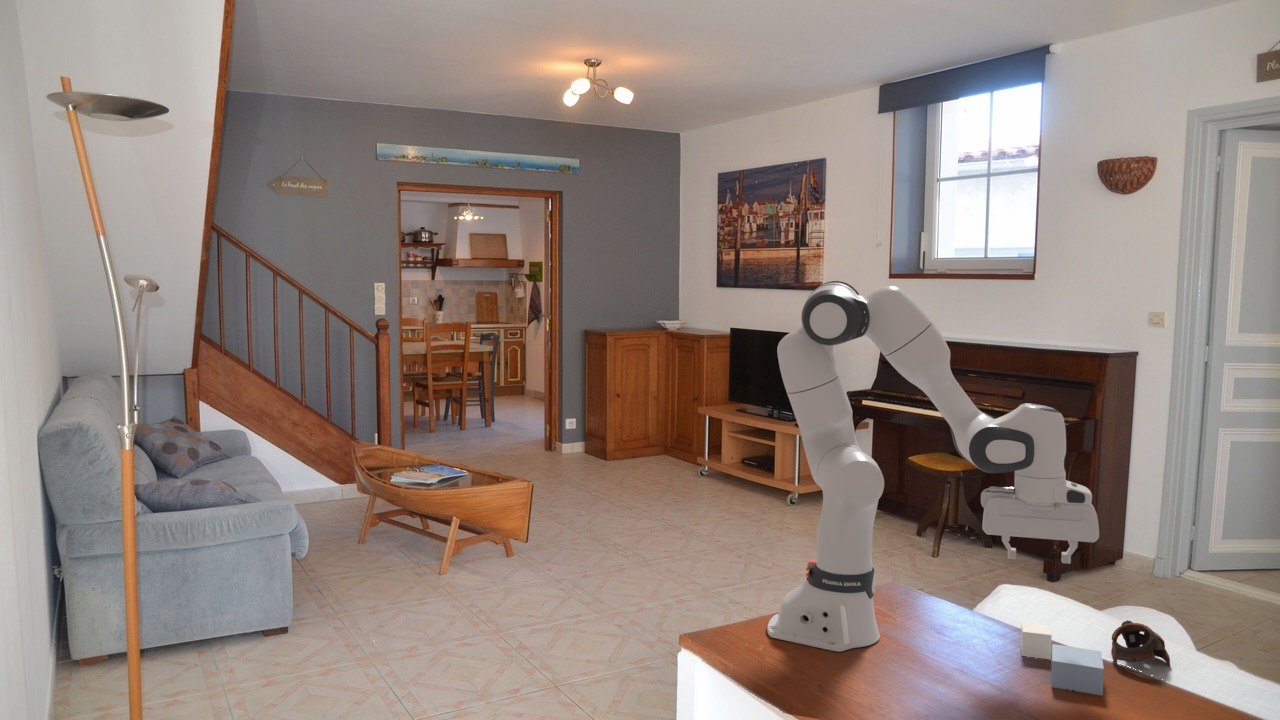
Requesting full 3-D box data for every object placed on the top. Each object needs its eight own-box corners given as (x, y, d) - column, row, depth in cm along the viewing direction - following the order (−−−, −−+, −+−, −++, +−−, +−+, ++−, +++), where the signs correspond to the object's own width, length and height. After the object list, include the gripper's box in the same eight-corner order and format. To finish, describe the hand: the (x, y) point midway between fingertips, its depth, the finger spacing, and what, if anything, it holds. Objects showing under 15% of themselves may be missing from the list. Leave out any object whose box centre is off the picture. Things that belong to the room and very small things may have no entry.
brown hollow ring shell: (1184, 675, 159) (1169, 641, 156) (1133, 694, 161) (1117, 660, 158) (1151, 634, 170) (1137, 602, 168) (1104, 652, 172) (1089, 620, 170)
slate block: (1051, 688, 154) (1052, 660, 153) (1051, 670, 161) (1052, 643, 160) (1102, 696, 150) (1103, 668, 150) (1100, 678, 157) (1101, 651, 157)
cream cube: (1022, 657, 166) (1022, 631, 166) (1020, 647, 171) (1021, 622, 171) (1050, 660, 165) (1051, 635, 164) (1048, 650, 169) (1049, 625, 169)
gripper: (980, 489, 166) (980, 560, 167) (1101, 496, 159) (1099, 570, 160) (980, 482, 172) (980, 550, 173) (1097, 488, 165) (1095, 560, 166)
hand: (1038, 560), depth 166 cm, fingers open, 8 cm apart
